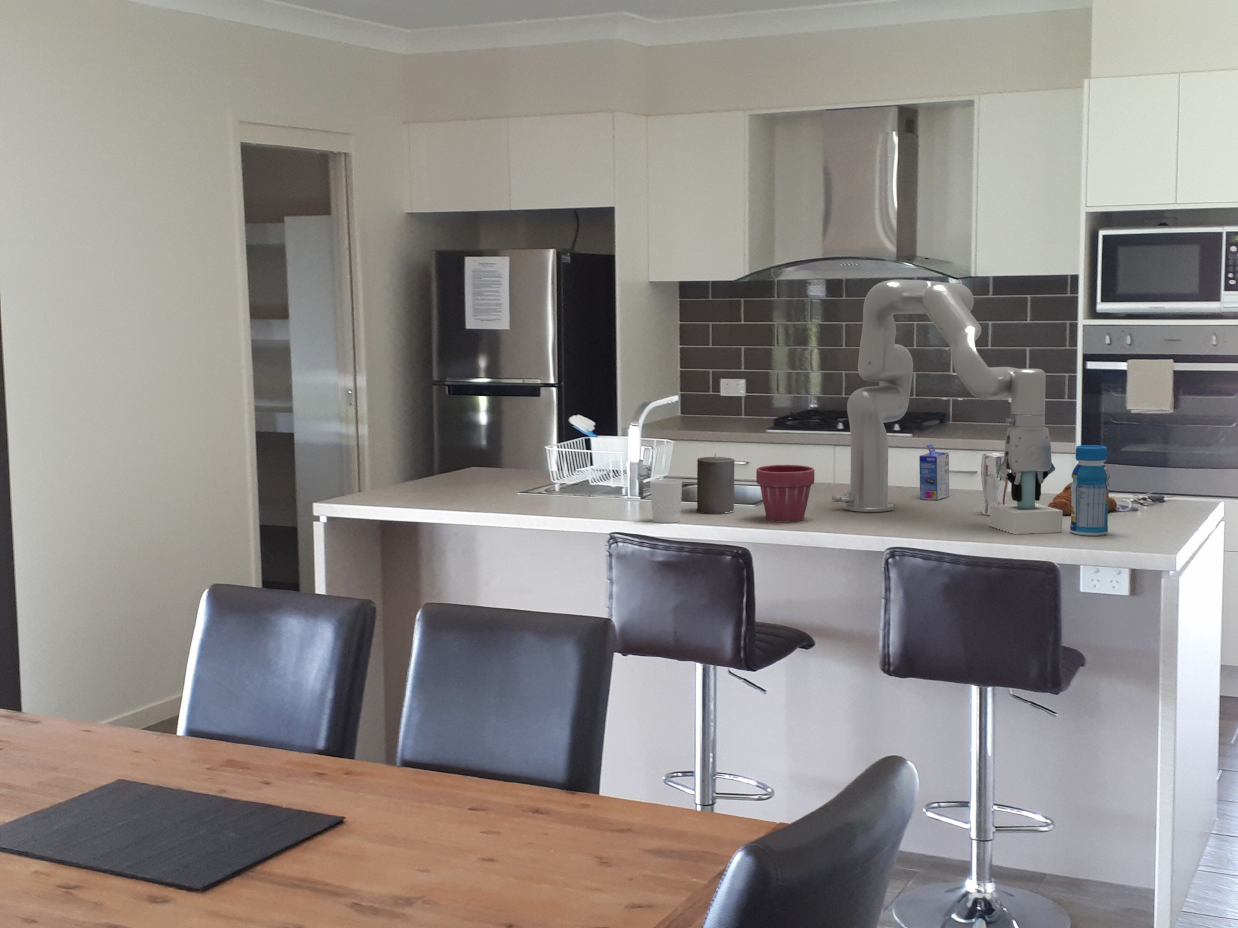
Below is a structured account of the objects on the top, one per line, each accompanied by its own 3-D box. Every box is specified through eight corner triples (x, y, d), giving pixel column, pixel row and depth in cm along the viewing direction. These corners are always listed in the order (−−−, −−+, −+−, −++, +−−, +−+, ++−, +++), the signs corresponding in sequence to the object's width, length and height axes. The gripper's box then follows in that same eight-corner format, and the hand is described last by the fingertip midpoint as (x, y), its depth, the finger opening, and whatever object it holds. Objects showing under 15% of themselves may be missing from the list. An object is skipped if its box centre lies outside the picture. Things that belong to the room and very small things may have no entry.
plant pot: (780, 525, 321) (780, 472, 319) (744, 518, 333) (744, 467, 331) (826, 520, 328) (826, 468, 327) (789, 513, 340) (789, 463, 339)
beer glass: (1010, 516, 331) (1011, 456, 329) (981, 515, 332) (982, 456, 330) (1007, 512, 338) (1009, 453, 336) (979, 511, 339) (980, 453, 337)
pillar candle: (689, 511, 344) (689, 454, 342) (712, 507, 351) (713, 450, 349) (718, 515, 338) (718, 457, 336) (742, 511, 345) (742, 453, 343)
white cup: (648, 519, 333) (648, 479, 332) (680, 518, 334) (680, 478, 333) (652, 524, 325) (652, 483, 324) (684, 523, 326) (684, 482, 325)
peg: (1021, 523, 309) (1023, 463, 308) (1013, 521, 313) (1014, 461, 311) (1037, 522, 310) (1039, 463, 308) (1029, 520, 314) (1030, 461, 312)
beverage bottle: (1087, 537, 300) (1090, 449, 297) (1061, 532, 307) (1063, 445, 305) (1116, 534, 303) (1119, 447, 301) (1089, 529, 311) (1092, 443, 308)
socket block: (1013, 534, 305) (1014, 512, 304) (989, 526, 316) (989, 505, 316) (1062, 532, 307) (1062, 510, 306) (1035, 524, 319) (1036, 503, 318)
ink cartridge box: (930, 494, 370) (931, 443, 369) (950, 496, 367) (950, 443, 366) (918, 499, 362) (918, 446, 360) (937, 500, 359) (938, 447, 357)
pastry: (1055, 506, 347) (1055, 476, 346) (1117, 510, 341) (1118, 479, 340) (1045, 516, 332) (1046, 484, 331) (1111, 519, 326) (1112, 487, 325)
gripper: (1002, 424, 304) (1000, 504, 306) (1069, 422, 307) (1067, 501, 309) (986, 421, 311) (985, 499, 313) (1052, 419, 314) (1050, 496, 316)
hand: (1025, 499), depth 311 cm, fingers closed on peg, 4 cm apart
